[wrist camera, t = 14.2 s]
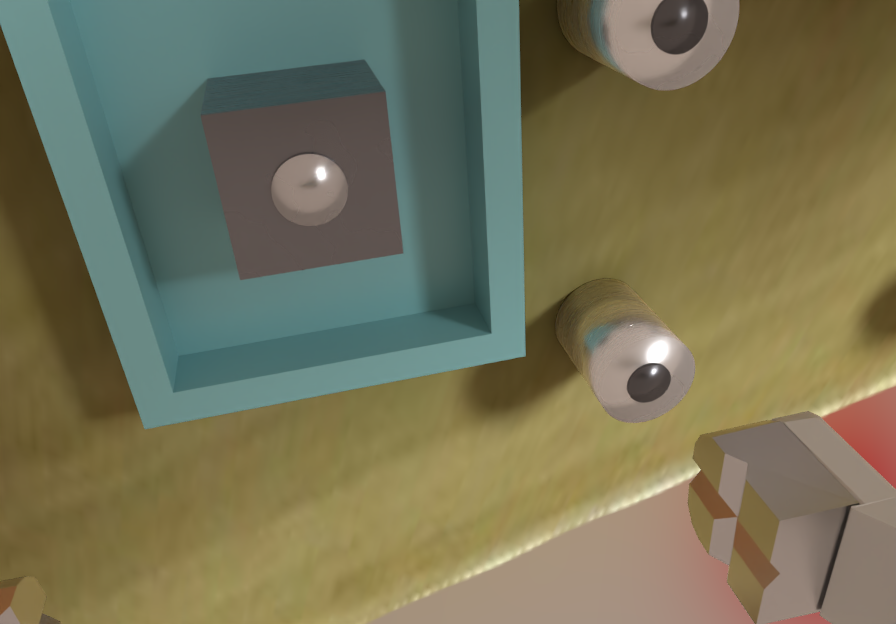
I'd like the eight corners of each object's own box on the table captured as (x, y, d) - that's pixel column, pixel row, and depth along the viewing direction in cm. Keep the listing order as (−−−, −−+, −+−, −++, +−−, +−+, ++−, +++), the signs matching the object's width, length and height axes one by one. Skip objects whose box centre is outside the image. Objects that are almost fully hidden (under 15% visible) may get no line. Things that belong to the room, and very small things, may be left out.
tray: (482, -178, 21) (515, -185, 18) (501, 314, 29) (525, 356, 27) (-19, -141, 19) (-60, -144, 16) (154, 377, 27) (144, 429, 24)
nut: (364, 59, 22) (385, 92, 19) (382, 202, 25) (404, 254, 21) (207, 78, 22) (200, 116, 18) (240, 224, 24) (240, 281, 21)
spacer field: (1192, -258, 24) (1374, -285, 20) (1002, 276, 34) (1100, 327, 30) (558, -217, 21) (630, -240, 17) (554, 363, 31) (599, 434, 27)
